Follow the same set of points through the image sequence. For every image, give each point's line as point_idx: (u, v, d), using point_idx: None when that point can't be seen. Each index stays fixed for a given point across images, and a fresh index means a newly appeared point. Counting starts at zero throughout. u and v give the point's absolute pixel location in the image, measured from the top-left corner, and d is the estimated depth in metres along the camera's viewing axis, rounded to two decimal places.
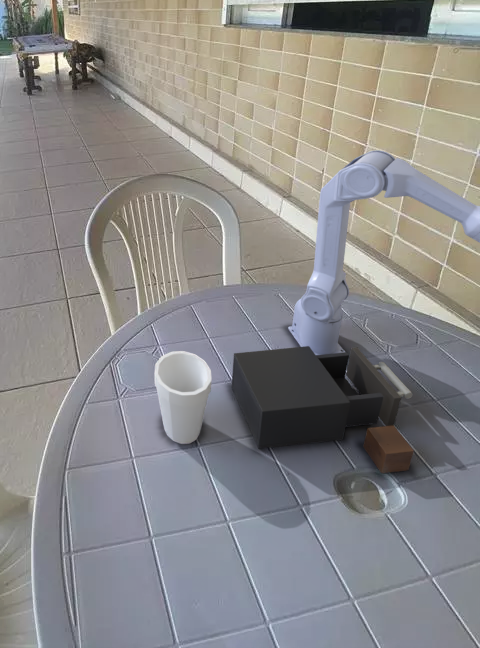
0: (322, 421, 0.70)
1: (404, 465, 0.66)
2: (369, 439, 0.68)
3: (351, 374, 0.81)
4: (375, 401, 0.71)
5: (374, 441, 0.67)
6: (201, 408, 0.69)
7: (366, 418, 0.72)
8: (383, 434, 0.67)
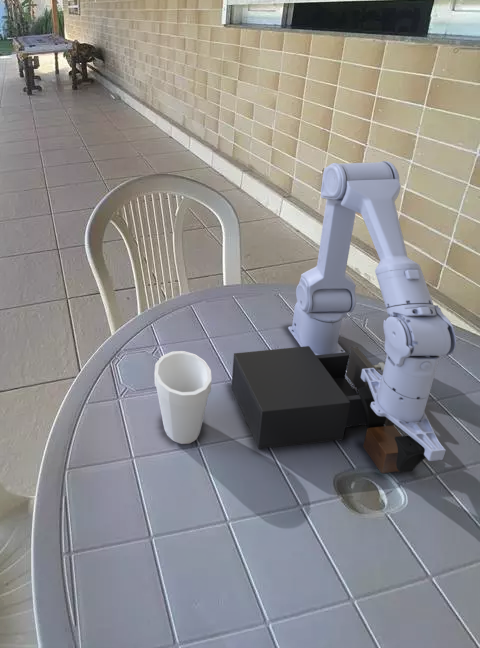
0: (322, 421, 0.70)
1: None
2: (369, 439, 0.68)
3: (351, 374, 0.81)
4: None
5: (374, 441, 0.67)
6: (201, 408, 0.69)
7: None
8: (383, 434, 0.67)
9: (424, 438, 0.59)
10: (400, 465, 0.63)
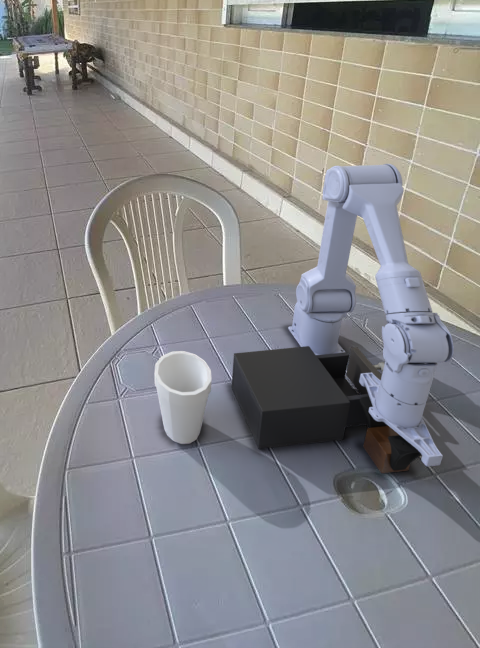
0: (322, 421, 0.70)
1: None
2: (369, 439, 0.68)
3: (351, 374, 0.81)
4: None
5: (374, 441, 0.67)
6: (201, 408, 0.69)
7: None
8: (383, 434, 0.67)
9: (421, 443, 0.60)
10: (393, 464, 0.64)
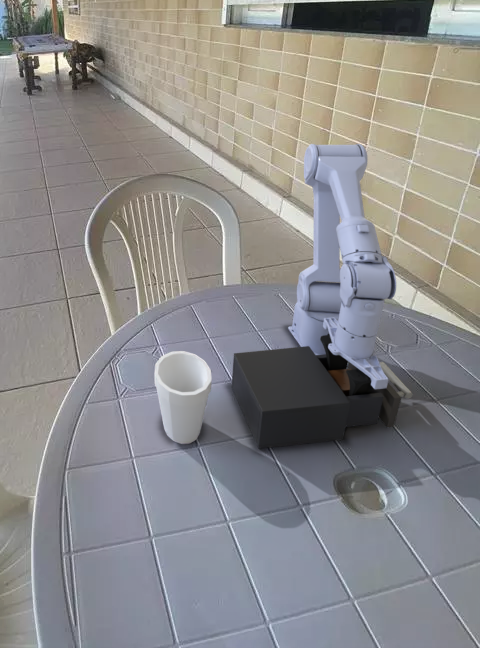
0: (322, 421, 0.70)
1: None
2: None
3: None
4: (376, 401, 0.71)
5: None
6: (201, 408, 0.69)
7: (366, 418, 0.72)
8: (341, 375, 0.76)
9: (371, 371, 0.68)
10: None
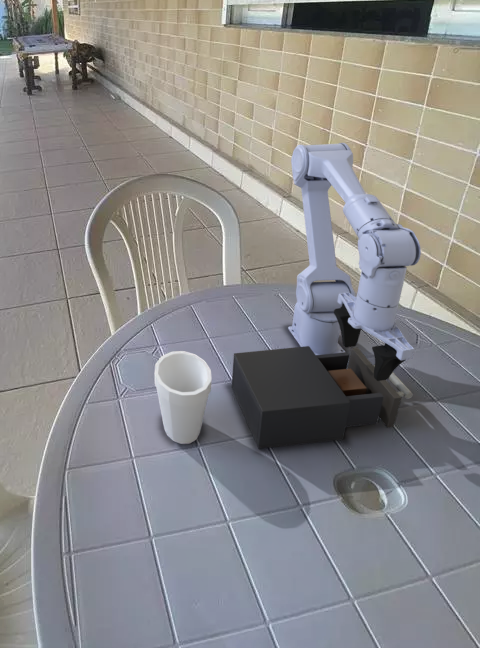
0: (322, 421, 0.70)
1: None
2: None
3: None
4: (376, 401, 0.71)
5: None
6: (201, 408, 0.69)
7: (366, 418, 0.72)
8: (341, 375, 0.76)
9: (396, 342, 0.66)
10: (377, 374, 0.69)
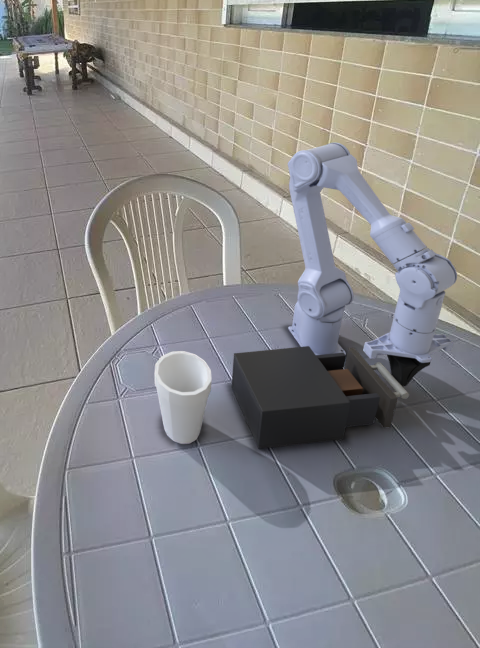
0: (322, 421, 0.70)
1: None
2: None
3: None
4: (372, 402, 0.71)
5: None
6: (201, 408, 0.69)
7: (363, 418, 0.72)
8: (337, 376, 0.76)
9: (438, 341, 0.73)
10: (410, 380, 0.74)
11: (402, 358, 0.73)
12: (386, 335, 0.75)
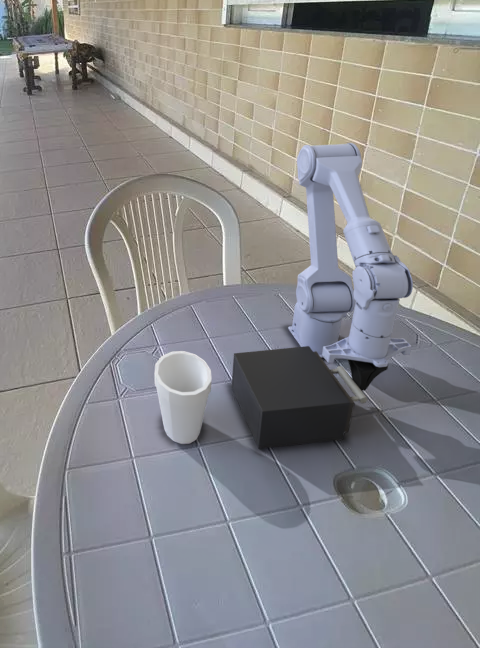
0: (322, 421, 0.70)
1: None
2: None
3: None
4: None
5: None
6: (201, 408, 0.69)
7: None
8: None
9: (396, 345, 0.73)
10: (369, 384, 0.74)
11: (360, 362, 0.72)
12: (345, 339, 0.75)
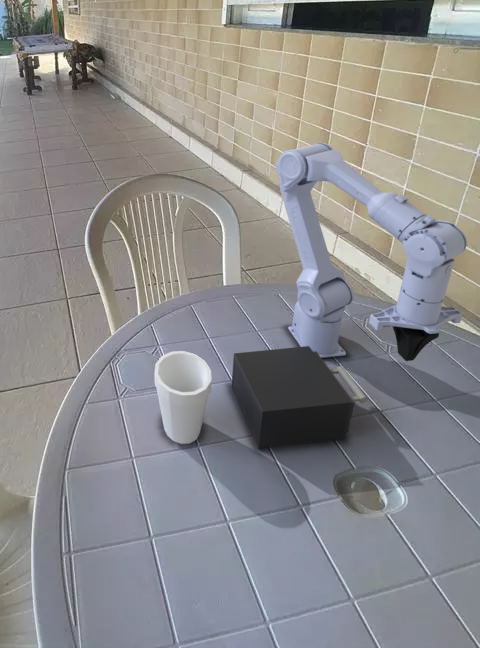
0: (322, 421, 0.70)
1: None
2: None
3: None
4: None
5: None
6: (201, 408, 0.69)
7: None
8: None
9: (446, 313, 0.71)
10: (417, 354, 0.72)
11: (409, 330, 0.70)
12: (393, 307, 0.73)
